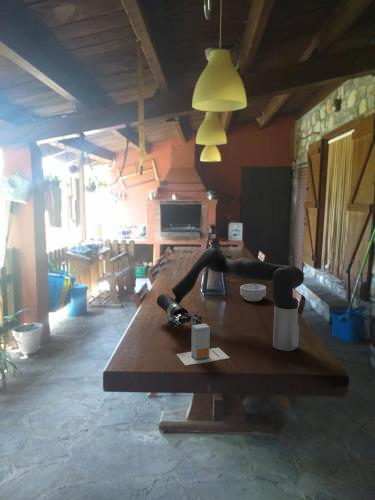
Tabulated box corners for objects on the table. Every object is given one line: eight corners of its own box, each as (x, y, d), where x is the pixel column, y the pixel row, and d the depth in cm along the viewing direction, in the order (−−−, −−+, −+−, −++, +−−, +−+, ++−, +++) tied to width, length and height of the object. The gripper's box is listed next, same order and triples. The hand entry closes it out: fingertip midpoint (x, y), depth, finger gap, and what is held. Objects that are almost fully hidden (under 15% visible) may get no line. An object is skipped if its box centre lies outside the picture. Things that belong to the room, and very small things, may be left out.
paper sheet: (218, 348, 149) (218, 347, 149) (229, 358, 139) (229, 357, 139) (176, 354, 143) (176, 353, 142) (185, 365, 133) (185, 364, 133)
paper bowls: (234, 299, 219) (235, 286, 218) (250, 294, 229) (250, 282, 228) (255, 304, 208) (255, 291, 206) (271, 299, 218) (271, 286, 217)
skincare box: (195, 359, 138) (195, 328, 136) (191, 354, 142) (191, 325, 140) (210, 356, 140) (210, 326, 138) (205, 352, 144) (205, 323, 142)
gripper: (162, 306, 162) (173, 318, 147) (192, 303, 167) (206, 314, 151) (162, 323, 163) (173, 336, 148) (192, 319, 168) (206, 331, 153)
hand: (190, 325), depth 150 cm, fingers open, 8 cm apart
